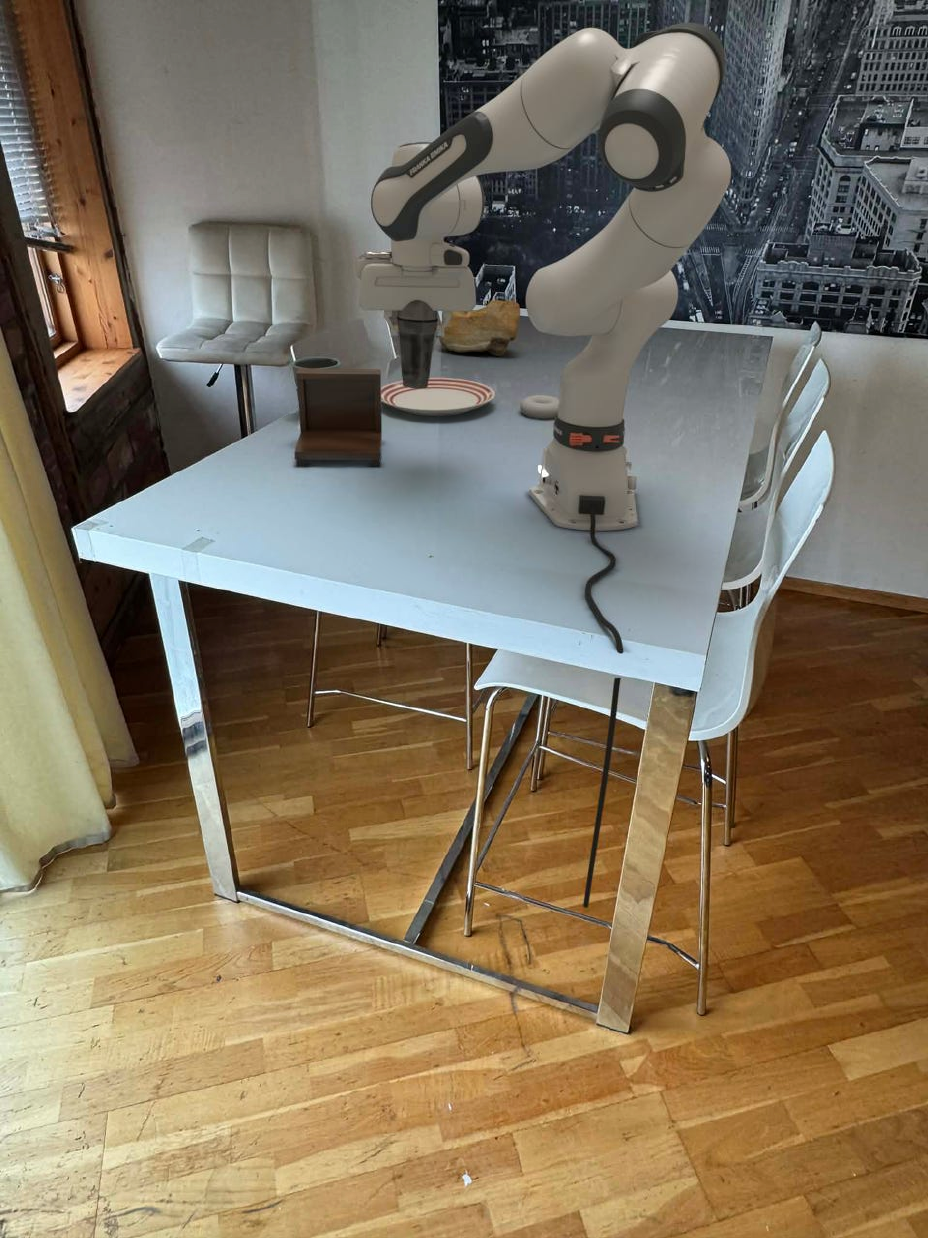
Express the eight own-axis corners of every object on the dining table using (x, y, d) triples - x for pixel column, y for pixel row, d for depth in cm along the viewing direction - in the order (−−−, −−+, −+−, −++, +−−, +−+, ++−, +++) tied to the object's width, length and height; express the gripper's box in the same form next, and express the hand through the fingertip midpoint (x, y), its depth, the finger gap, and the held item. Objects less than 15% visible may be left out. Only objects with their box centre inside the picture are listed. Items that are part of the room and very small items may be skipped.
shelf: (380, 467, 160) (379, 389, 153) (295, 466, 159) (289, 389, 152) (382, 441, 173) (380, 369, 166) (303, 441, 172) (298, 368, 165)
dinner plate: (359, 416, 188) (359, 401, 186) (396, 384, 211) (396, 371, 209) (480, 428, 182) (480, 413, 181) (504, 395, 205) (505, 381, 204)
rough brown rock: (529, 352, 249) (532, 298, 242) (513, 359, 234) (516, 302, 228) (455, 346, 255) (456, 293, 249) (435, 353, 241) (436, 297, 235)
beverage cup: (389, 386, 151) (391, 266, 142) (403, 379, 157) (406, 263, 148) (427, 391, 149) (432, 270, 140) (440, 384, 156) (445, 267, 146)
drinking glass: (351, 415, 188) (349, 360, 182) (323, 427, 180) (319, 370, 174) (315, 407, 192) (312, 354, 186) (286, 418, 184) (281, 363, 178)
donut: (516, 418, 190) (561, 422, 188) (517, 403, 188) (562, 406, 186) (522, 406, 198) (565, 409, 196) (523, 391, 196) (566, 394, 195)
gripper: (354, 253, 139) (358, 340, 146) (478, 255, 141) (475, 341, 147) (356, 248, 145) (359, 332, 151) (475, 250, 146) (472, 333, 153)
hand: (417, 336), depth 149 cm, fingers closed on beverage cup, 6 cm apart
